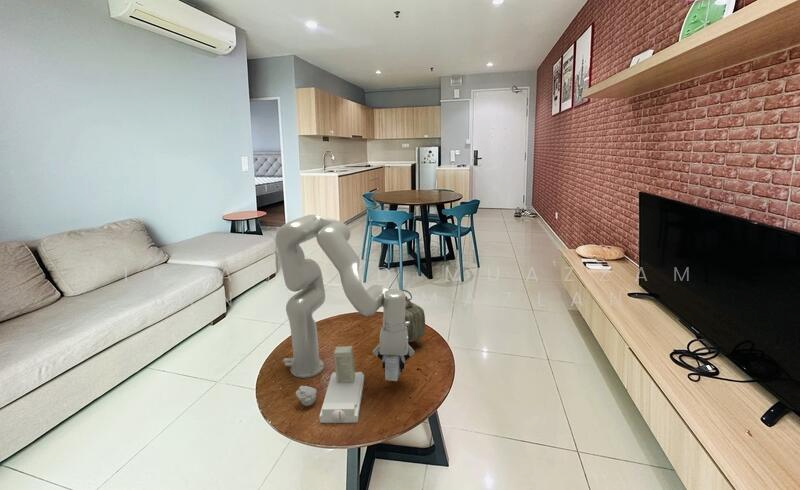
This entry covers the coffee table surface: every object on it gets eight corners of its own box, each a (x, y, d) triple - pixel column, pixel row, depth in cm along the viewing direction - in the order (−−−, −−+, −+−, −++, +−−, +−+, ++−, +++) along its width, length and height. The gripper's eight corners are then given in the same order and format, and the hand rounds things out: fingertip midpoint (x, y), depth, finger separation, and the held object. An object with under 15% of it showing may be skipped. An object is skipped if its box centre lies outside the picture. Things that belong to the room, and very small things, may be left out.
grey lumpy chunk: (295, 401, 131) (293, 384, 129) (316, 396, 134) (314, 378, 132) (298, 412, 126) (296, 394, 124) (319, 406, 129) (318, 388, 127)
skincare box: (355, 375, 139) (353, 345, 136) (353, 383, 135) (352, 352, 132) (337, 376, 139) (335, 346, 136) (335, 383, 135) (333, 352, 132)
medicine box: (397, 381, 134) (397, 360, 132) (384, 380, 135) (385, 358, 133) (401, 369, 142) (402, 348, 139) (389, 367, 143) (390, 346, 140)
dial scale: (319, 423, 121) (318, 410, 119) (331, 380, 142) (331, 368, 141) (357, 423, 121) (356, 409, 119) (364, 380, 142) (363, 368, 141)
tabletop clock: (425, 346, 165) (425, 292, 158) (410, 354, 159) (409, 298, 153) (402, 334, 175) (401, 283, 169) (387, 341, 170) (386, 288, 163)
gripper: (418, 320, 137) (416, 364, 142) (370, 319, 137) (370, 363, 142) (419, 330, 129) (417, 376, 134) (368, 329, 129) (368, 376, 134)
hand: (393, 369), depth 138 cm, fingers closed on medicine box, 5 cm apart
